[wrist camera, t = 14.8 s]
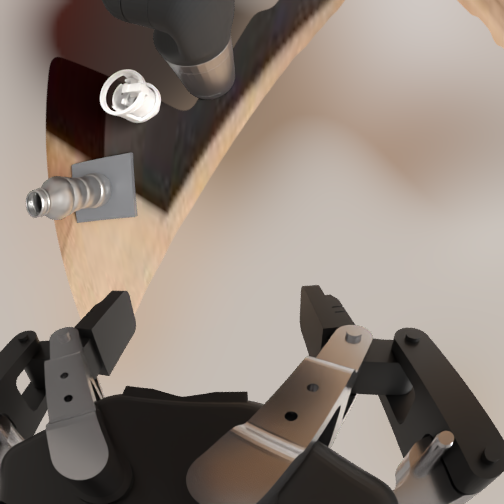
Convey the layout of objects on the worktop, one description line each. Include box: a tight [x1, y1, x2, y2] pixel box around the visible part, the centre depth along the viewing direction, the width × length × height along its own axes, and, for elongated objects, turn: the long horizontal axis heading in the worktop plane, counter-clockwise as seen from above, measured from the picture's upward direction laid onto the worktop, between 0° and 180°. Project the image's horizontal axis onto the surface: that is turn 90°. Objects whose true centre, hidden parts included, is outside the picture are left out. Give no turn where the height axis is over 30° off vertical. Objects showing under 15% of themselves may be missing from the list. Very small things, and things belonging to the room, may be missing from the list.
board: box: [72, 153, 138, 223], centre depth 46 cm, size 12×14×1 cm
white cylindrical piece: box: [100, 69, 161, 123], centre depth 35 cm, size 7×7×15 cm
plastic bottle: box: [26, 173, 111, 220], centre depth 36 cm, size 6×7×20 cm
